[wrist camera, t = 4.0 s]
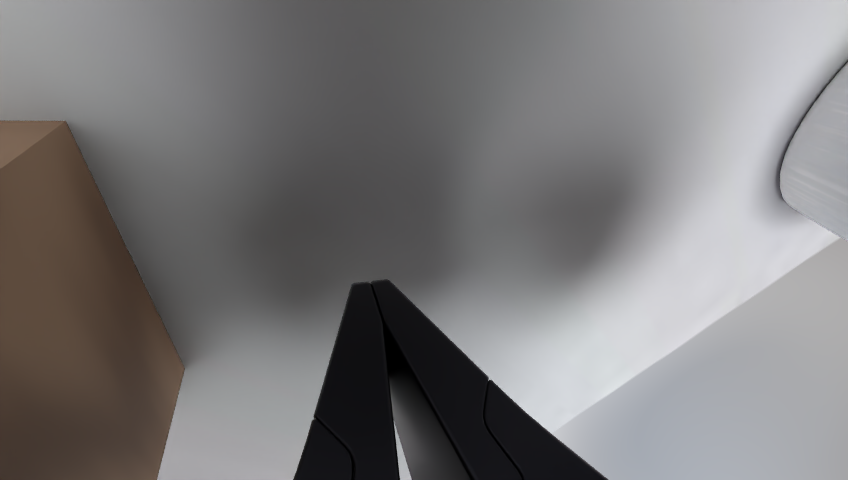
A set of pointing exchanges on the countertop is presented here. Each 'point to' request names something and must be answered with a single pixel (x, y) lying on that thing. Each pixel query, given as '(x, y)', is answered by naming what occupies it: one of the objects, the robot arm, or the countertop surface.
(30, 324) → the walnut block
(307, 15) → the countertop surface
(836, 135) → the ramekin
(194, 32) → the countertop surface
